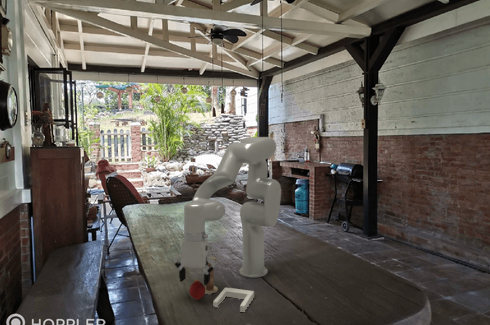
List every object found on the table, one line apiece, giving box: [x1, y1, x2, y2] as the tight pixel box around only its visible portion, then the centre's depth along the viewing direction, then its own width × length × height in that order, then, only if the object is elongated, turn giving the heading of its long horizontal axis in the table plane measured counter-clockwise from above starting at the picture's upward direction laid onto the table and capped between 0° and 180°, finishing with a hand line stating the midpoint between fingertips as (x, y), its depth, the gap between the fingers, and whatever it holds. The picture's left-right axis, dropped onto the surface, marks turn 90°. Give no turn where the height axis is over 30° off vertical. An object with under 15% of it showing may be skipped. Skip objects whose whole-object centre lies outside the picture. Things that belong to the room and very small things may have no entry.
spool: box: [205, 256, 219, 293], centre depth 135 cm, size 6×6×13 cm
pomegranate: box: [188, 278, 206, 301], centre depth 128 cm, size 6×6×8 cm
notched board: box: [212, 287, 255, 313], centre depth 126 cm, size 12×12×2 cm
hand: (194, 282), depth 128 cm, fingers open, 9 cm apart
